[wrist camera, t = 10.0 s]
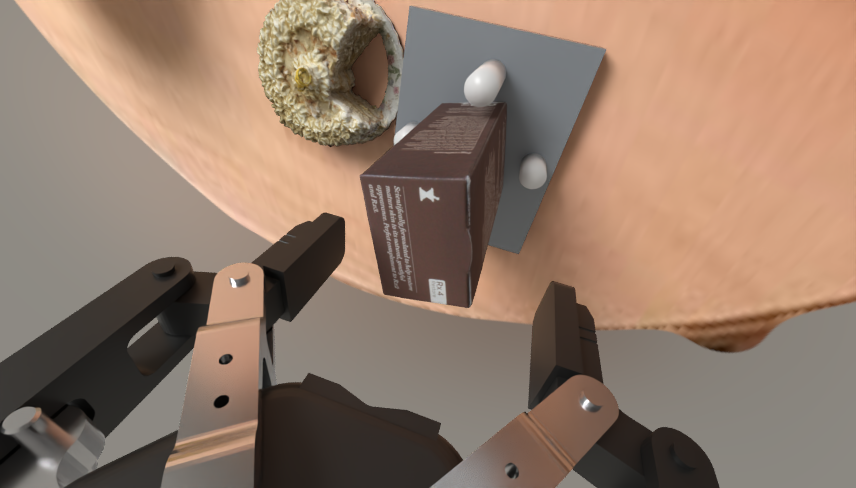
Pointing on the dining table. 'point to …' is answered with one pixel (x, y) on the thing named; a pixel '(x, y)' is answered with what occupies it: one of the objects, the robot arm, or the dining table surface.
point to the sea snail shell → (326, 68)
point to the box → (438, 203)
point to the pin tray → (500, 98)
